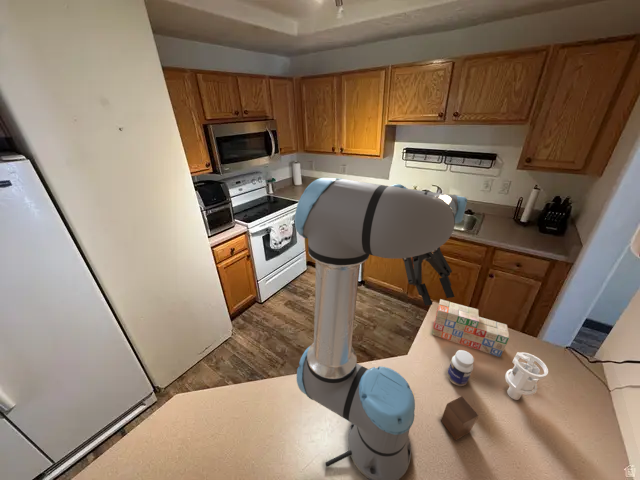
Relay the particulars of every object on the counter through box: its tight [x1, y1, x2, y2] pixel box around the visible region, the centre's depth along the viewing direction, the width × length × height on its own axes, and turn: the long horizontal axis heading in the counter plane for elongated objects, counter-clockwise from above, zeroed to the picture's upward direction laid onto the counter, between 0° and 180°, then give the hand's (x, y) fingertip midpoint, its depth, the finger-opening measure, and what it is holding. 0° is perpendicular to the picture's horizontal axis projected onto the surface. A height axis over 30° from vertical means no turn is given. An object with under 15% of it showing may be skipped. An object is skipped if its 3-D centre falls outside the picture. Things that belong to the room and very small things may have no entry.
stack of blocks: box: [431, 298, 510, 358], centre depth 89 cm, size 21×6×12 cm, turn 62°
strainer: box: [504, 351, 549, 401], centre depth 71 cm, size 7×7×15 cm
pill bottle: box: [446, 349, 475, 387], centre depth 77 cm, size 6×6×10 cm
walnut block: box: [440, 396, 479, 441], centre depth 66 cm, size 5×5×8 cm
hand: (439, 301), depth 80 cm, fingers open, 8 cm apart
